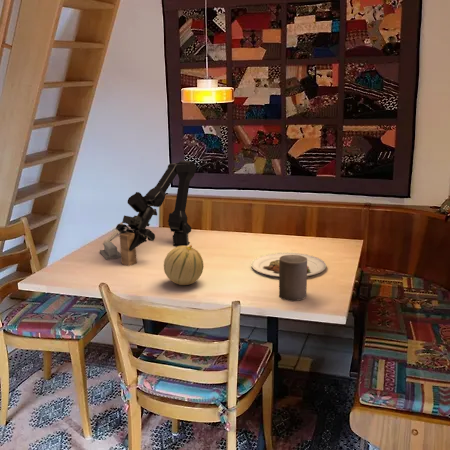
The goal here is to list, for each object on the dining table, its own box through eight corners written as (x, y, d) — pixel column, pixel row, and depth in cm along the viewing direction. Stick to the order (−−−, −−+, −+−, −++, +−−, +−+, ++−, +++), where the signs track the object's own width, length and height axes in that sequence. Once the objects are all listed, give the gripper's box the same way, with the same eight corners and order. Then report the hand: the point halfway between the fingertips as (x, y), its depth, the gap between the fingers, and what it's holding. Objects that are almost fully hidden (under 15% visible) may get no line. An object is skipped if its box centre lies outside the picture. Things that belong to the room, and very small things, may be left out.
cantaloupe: (160, 280, 208) (158, 242, 204) (196, 274, 213) (195, 238, 209) (171, 293, 194) (169, 253, 191) (209, 287, 200) (208, 248, 196)
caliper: (122, 233, 276) (121, 221, 275) (124, 233, 276) (123, 221, 274) (102, 244, 257) (101, 231, 255) (104, 245, 257) (103, 232, 255)
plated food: (267, 253, 239) (267, 246, 238) (334, 262, 226) (334, 254, 225) (239, 274, 213) (239, 266, 212) (313, 285, 200) (313, 277, 199)
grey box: (100, 252, 244) (99, 242, 243) (115, 250, 247) (114, 240, 246) (106, 259, 234) (105, 249, 233) (122, 257, 237) (121, 247, 235)
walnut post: (129, 261, 231) (127, 231, 228) (136, 263, 229) (134, 233, 225) (121, 263, 228) (119, 234, 225) (129, 265, 225) (127, 235, 222)
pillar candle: (275, 299, 187) (275, 257, 184) (283, 289, 196) (283, 249, 193) (303, 302, 184) (304, 260, 180) (309, 292, 193) (310, 252, 189)
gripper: (117, 205, 231) (99, 235, 225) (148, 210, 220) (130, 242, 214) (132, 219, 239) (114, 249, 233) (163, 225, 228) (145, 256, 222)
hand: (125, 249), depth 225 cm, fingers closed on walnut post, 4 cm apart
